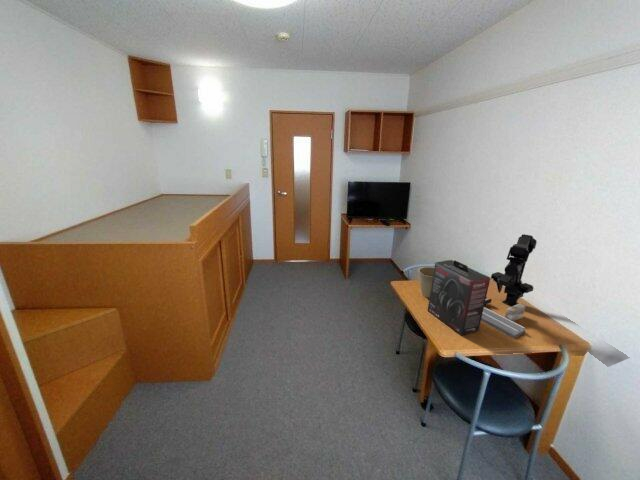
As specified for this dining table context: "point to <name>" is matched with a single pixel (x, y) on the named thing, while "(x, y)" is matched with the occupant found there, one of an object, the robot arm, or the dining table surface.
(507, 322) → the rail
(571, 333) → the dining table surface
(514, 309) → the door panel
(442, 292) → the headset box
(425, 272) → the plant pot
